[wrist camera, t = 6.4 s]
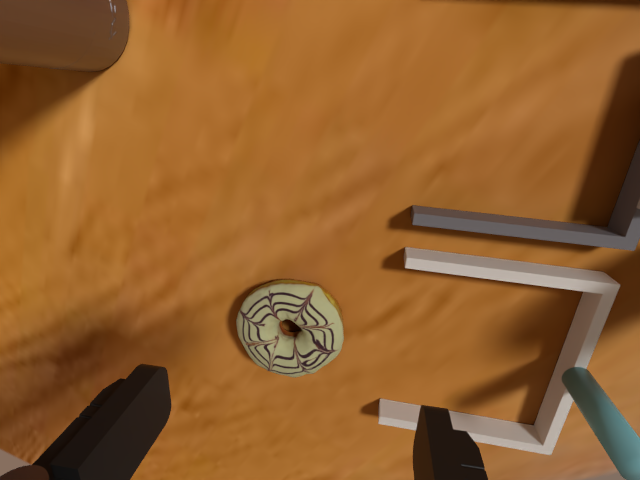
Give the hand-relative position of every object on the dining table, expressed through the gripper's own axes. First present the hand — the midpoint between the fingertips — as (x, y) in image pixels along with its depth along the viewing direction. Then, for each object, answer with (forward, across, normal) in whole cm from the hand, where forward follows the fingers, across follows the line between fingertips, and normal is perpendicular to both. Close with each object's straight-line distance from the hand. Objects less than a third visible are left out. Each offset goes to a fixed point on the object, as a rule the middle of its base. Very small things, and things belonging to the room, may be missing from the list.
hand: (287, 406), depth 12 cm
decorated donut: (+25, +4, +13) cm, 28 cm away
